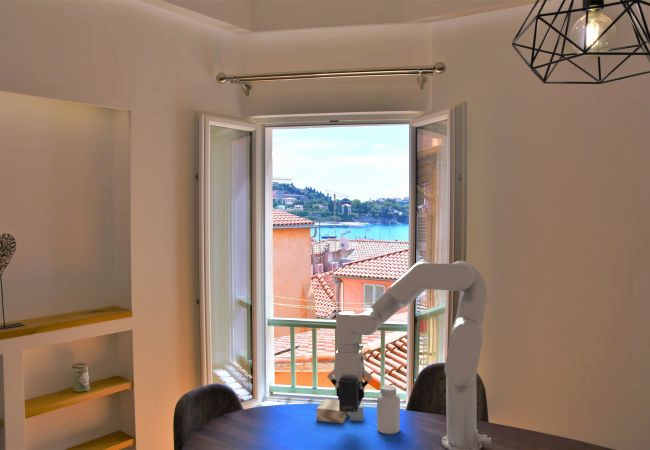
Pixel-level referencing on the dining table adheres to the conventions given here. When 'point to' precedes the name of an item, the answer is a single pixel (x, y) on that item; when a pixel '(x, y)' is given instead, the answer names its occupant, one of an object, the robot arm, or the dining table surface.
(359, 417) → the slate cube
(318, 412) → the beech plinth
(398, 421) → the pill bottle
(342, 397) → the small box
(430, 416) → the dining table surface
